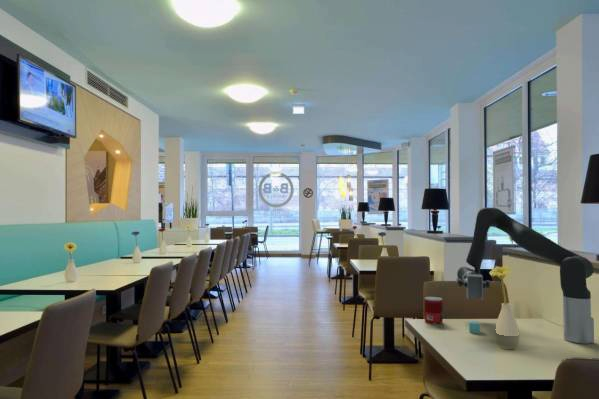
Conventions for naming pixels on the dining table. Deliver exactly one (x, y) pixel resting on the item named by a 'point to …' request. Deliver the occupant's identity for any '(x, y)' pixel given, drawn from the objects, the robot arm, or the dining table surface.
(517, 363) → the dining table surface
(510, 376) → the dining table surface
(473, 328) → the teal block
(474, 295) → the tall grey pillar block
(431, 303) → the canned food
